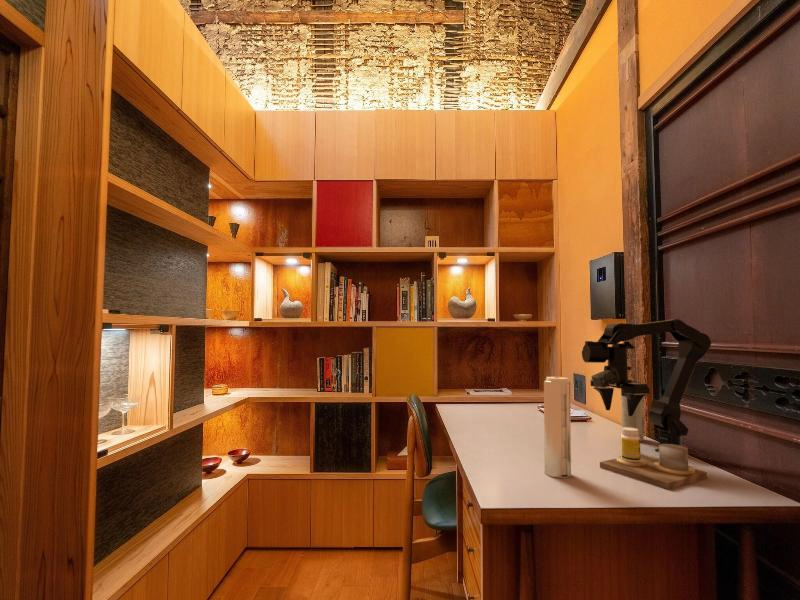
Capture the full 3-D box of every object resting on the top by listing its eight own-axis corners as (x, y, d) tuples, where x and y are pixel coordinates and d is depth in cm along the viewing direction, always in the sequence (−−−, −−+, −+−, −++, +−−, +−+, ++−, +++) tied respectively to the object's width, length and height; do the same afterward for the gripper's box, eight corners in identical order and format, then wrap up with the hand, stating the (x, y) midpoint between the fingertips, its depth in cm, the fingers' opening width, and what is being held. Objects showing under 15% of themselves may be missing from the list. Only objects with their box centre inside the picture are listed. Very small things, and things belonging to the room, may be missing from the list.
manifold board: (638, 458, 124) (638, 433, 125) (707, 478, 109) (706, 449, 109) (599, 467, 115) (599, 440, 116) (668, 489, 100) (667, 458, 100)
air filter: (570, 471, 111) (569, 376, 113) (571, 479, 105) (570, 379, 107) (544, 468, 114) (543, 375, 115) (544, 476, 107) (543, 377, 109)
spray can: (647, 442, 144) (646, 383, 145) (628, 441, 144) (626, 382, 145) (637, 437, 150) (636, 380, 152) (618, 436, 151) (617, 380, 152)
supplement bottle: (643, 463, 112) (642, 431, 113) (624, 461, 113) (623, 430, 114) (637, 458, 117) (636, 427, 118) (618, 456, 118) (618, 426, 119)
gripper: (576, 360, 140) (577, 408, 139) (619, 365, 122) (620, 420, 121) (604, 360, 143) (605, 407, 142) (650, 365, 125) (651, 418, 124)
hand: (618, 413), depth 132 cm, fingers open, 9 cm apart
